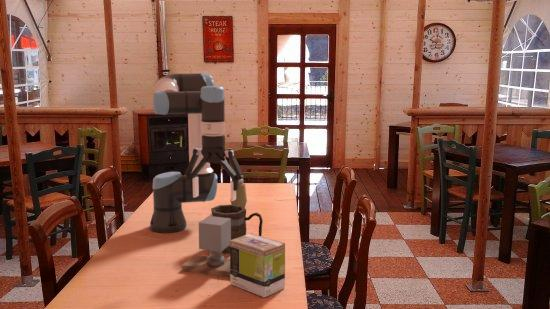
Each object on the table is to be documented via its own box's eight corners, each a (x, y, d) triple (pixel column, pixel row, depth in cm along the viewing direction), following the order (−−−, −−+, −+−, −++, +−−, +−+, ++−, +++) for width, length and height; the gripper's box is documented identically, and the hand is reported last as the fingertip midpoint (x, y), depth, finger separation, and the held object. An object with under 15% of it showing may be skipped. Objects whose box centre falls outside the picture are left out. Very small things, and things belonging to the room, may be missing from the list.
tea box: (286, 288, 154) (286, 242, 151) (263, 299, 146) (263, 251, 144) (251, 274, 164) (251, 231, 161) (229, 284, 156) (228, 239, 154)
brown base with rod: (182, 270, 167) (180, 224, 164) (196, 259, 176) (194, 216, 173) (237, 278, 160) (236, 231, 158) (248, 267, 170) (248, 222, 167)
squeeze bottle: (246, 210, 237) (246, 173, 234) (229, 210, 237) (229, 173, 234) (247, 206, 245) (247, 170, 242) (231, 205, 245) (230, 170, 242)
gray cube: (199, 248, 164) (198, 222, 163) (209, 241, 172) (209, 216, 170) (221, 251, 162) (221, 225, 160) (230, 243, 169) (230, 218, 168)
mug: (207, 253, 183) (206, 213, 180) (216, 240, 196) (215, 203, 193) (259, 255, 180) (259, 215, 178) (265, 242, 194) (265, 205, 191)
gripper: (173, 134, 161) (175, 197, 164) (245, 137, 153) (245, 204, 157) (184, 131, 168) (186, 192, 171) (253, 134, 160) (253, 198, 164)
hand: (214, 198), depth 164 cm, fingers open, 13 cm apart
